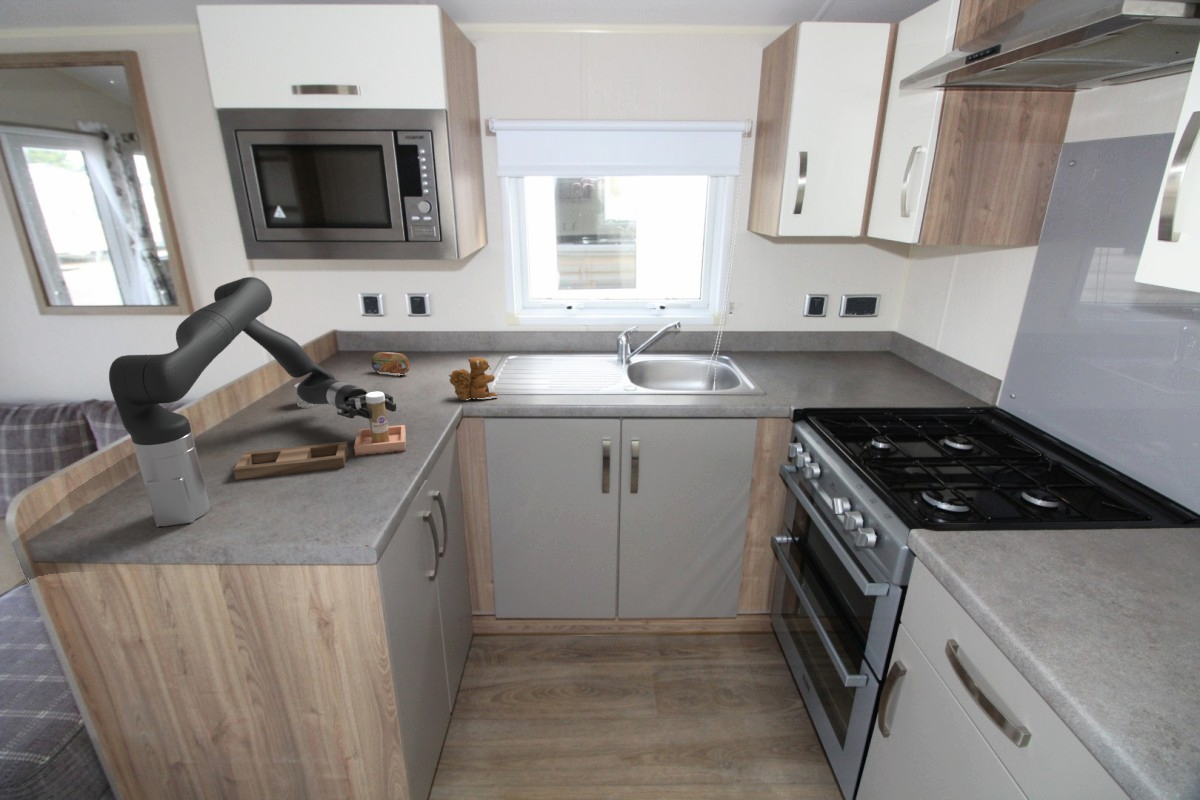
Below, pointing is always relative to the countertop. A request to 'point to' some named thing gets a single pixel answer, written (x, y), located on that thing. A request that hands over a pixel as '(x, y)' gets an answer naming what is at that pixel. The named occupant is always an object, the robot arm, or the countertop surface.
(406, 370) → the tin
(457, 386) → the stuffed squirrel
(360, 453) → the terracotta tray
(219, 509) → the countertop surface
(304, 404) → the mug
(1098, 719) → the countertop surface
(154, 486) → the robot arm
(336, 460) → the walnut rack
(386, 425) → the sprinkles bottle
